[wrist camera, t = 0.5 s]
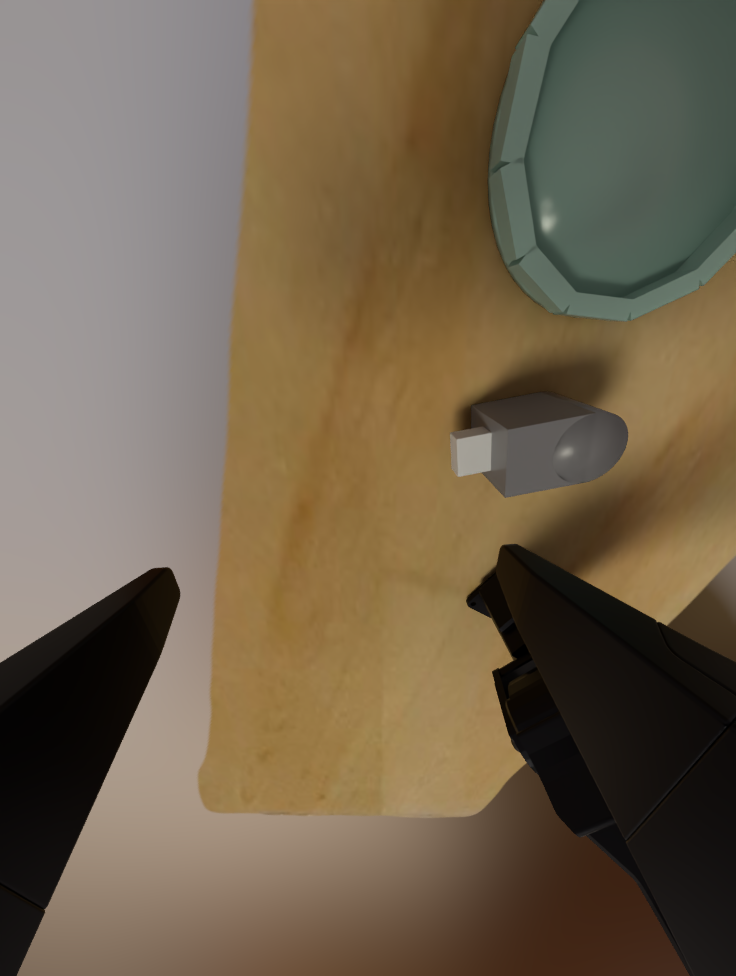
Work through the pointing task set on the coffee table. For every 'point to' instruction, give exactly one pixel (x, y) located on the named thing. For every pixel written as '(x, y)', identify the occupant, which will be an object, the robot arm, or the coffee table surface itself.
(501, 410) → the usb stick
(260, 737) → the coffee table surface
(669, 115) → the dish
